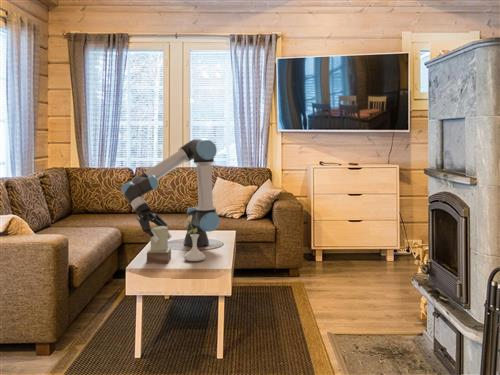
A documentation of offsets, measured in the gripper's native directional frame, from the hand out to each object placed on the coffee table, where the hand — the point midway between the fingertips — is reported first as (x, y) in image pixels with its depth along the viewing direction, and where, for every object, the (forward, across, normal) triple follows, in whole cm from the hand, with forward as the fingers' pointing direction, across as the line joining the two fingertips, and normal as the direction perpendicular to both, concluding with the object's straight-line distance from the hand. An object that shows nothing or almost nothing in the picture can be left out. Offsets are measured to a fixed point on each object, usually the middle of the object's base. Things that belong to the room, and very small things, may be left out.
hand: (163, 239), depth 261 cm
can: (+2, 0, -6) cm, 7 cm away
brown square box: (+6, 0, -11) cm, 13 cm away
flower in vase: (+17, -11, -1) cm, 20 cm away
